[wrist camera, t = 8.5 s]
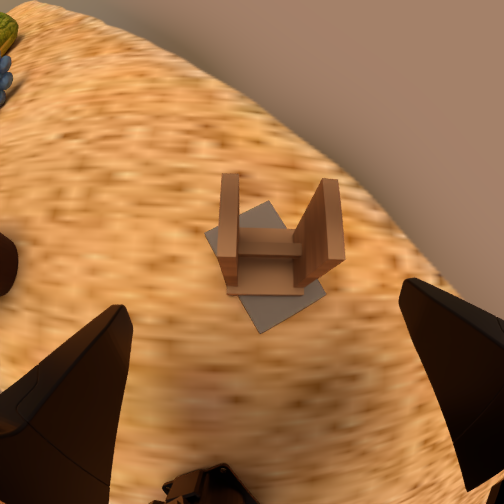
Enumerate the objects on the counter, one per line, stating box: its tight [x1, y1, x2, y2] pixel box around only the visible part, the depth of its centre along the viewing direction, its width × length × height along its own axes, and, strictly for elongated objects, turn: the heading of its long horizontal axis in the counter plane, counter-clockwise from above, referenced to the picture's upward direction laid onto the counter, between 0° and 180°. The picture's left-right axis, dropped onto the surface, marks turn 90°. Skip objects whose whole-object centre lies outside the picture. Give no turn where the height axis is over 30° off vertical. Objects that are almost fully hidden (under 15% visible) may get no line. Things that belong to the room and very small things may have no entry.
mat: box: [204, 201, 326, 334], centre depth 23 cm, size 9×6×1 cm, turn 29°
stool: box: [217, 174, 346, 296], centre depth 17 cm, size 5×6×10 cm
